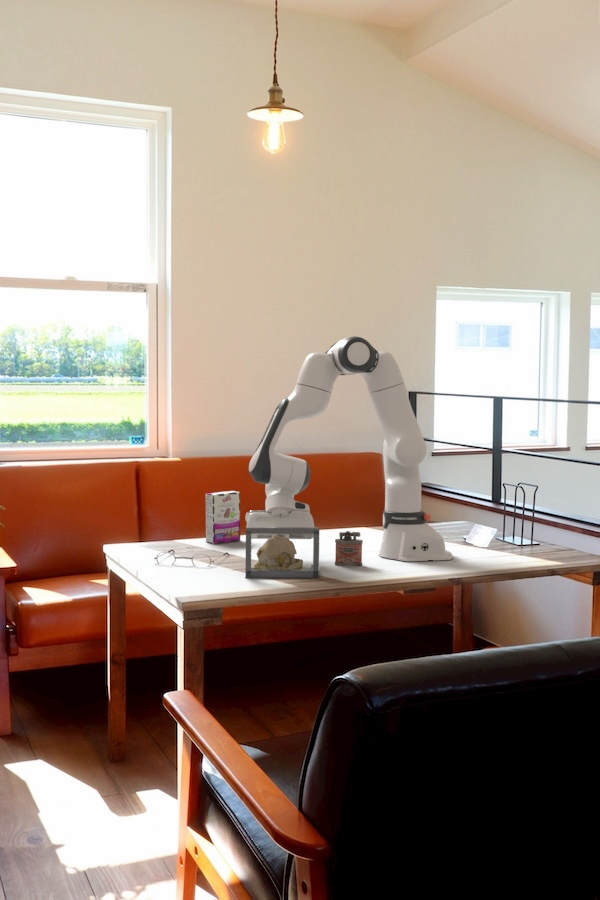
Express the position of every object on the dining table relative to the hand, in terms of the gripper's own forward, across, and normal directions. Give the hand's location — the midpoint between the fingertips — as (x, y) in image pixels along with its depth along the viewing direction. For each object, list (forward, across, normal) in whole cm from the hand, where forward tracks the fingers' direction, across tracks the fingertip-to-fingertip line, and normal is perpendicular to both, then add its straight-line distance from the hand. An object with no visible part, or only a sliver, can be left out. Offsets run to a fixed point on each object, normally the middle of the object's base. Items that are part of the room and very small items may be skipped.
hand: (280, 549), depth 269 cm
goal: (+11, 0, -4) cm, 12 cm away
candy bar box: (-24, -18, +32) cm, 44 cm away
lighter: (+3, +20, +4) cm, 21 cm away
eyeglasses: (-3, -26, +11) cm, 28 cm away
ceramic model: (+7, -1, 0) cm, 7 cm away
